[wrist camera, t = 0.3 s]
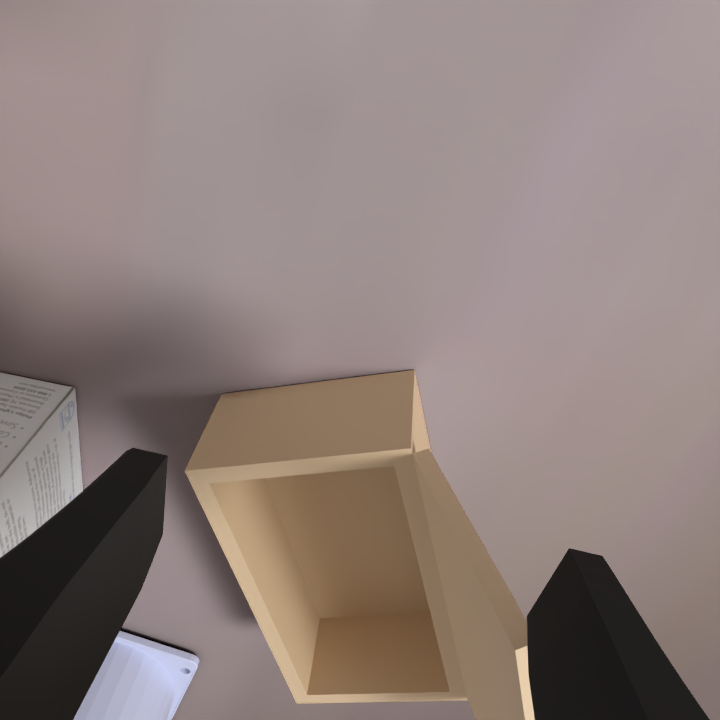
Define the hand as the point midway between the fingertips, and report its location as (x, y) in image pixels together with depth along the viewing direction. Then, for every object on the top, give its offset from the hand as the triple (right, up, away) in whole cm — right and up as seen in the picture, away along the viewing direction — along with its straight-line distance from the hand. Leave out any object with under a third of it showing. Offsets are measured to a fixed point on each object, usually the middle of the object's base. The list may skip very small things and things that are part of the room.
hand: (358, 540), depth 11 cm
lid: (+4, -6, +7) cm, 10 cm away
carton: (0, -3, +14) cm, 14 cm away
